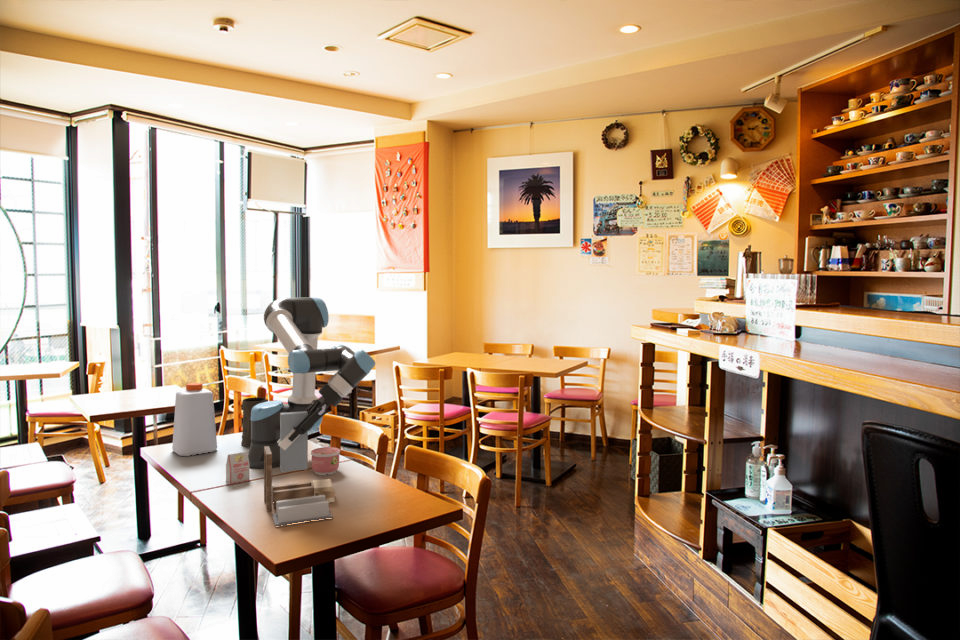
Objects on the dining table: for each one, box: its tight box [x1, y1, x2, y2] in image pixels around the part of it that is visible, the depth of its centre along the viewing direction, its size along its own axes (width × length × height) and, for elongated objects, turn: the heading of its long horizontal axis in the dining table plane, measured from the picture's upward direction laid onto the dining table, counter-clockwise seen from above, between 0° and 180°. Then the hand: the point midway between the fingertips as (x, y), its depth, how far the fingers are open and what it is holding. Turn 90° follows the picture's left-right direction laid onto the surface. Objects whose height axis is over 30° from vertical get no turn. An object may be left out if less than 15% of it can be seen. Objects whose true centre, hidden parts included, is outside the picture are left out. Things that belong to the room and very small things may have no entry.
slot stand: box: [271, 495, 334, 527], centre depth 171 cm, size 16×9×5 cm, turn 115°
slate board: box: [279, 411, 309, 473], centre depth 182 cm, size 8×2×18 cm, turn 115°
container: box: [310, 446, 341, 476], centre depth 215 cm, size 10×10×8 cm
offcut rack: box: [263, 446, 336, 511], centre depth 184 cm, size 21×10×18 cm, turn 115°
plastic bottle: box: [171, 382, 218, 457], centre depth 239 cm, size 15×15×28 cm
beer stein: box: [240, 397, 267, 448], centre depth 250 cm, size 15×11×20 cm
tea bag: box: [225, 451, 251, 485], centre depth 203 cm, size 4×7×10 cm, turn 133°
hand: (281, 446), depth 181 cm, fingers closed on slate board, 2 cm apart
